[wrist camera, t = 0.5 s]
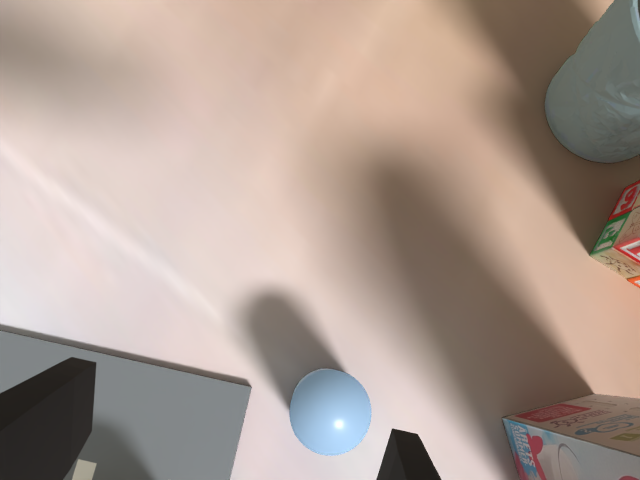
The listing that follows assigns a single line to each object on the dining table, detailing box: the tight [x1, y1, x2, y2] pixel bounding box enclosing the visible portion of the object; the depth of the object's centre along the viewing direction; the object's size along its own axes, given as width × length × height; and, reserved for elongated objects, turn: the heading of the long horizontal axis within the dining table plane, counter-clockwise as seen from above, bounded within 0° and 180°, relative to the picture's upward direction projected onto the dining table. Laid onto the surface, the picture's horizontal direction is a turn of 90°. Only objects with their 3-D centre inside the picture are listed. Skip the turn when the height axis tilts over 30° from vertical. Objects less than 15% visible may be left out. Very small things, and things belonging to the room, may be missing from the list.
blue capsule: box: [290, 368, 371, 456], centre depth 32 cm, size 4×4×6 cm
